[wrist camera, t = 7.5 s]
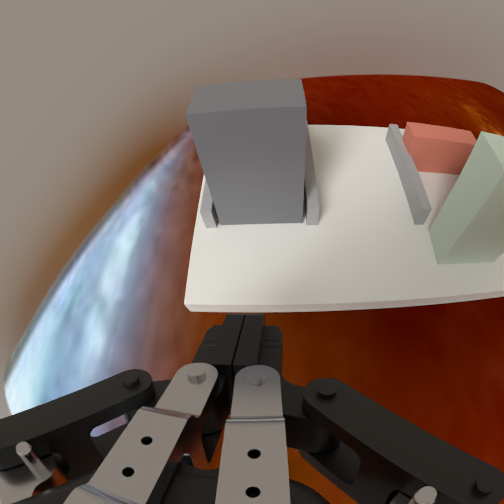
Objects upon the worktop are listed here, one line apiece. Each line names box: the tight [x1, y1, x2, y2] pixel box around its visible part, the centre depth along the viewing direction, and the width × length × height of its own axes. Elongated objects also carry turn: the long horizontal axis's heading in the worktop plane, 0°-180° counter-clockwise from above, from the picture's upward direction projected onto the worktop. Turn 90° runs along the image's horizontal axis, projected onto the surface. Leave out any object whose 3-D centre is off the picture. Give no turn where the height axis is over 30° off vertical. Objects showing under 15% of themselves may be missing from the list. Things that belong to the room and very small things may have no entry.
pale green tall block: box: [428, 131, 504, 265], centre depth 15 cm, size 6×3×10 cm, turn 88°
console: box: [184, 121, 504, 312], centre depth 22 cm, size 26×18×6 cm
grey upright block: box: [186, 79, 307, 225], centre depth 19 cm, size 6×3×10 cm, turn 88°
